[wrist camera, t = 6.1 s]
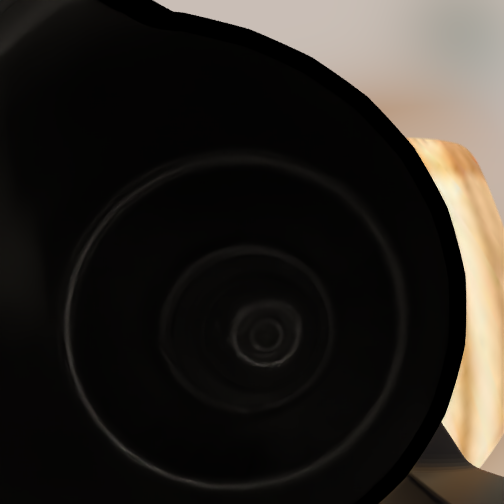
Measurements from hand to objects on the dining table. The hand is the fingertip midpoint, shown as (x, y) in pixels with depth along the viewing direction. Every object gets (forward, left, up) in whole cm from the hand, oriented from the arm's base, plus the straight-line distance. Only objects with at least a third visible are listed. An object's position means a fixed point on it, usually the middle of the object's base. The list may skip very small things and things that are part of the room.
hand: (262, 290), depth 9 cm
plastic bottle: (-1, -1, -10) cm, 10 cm away
